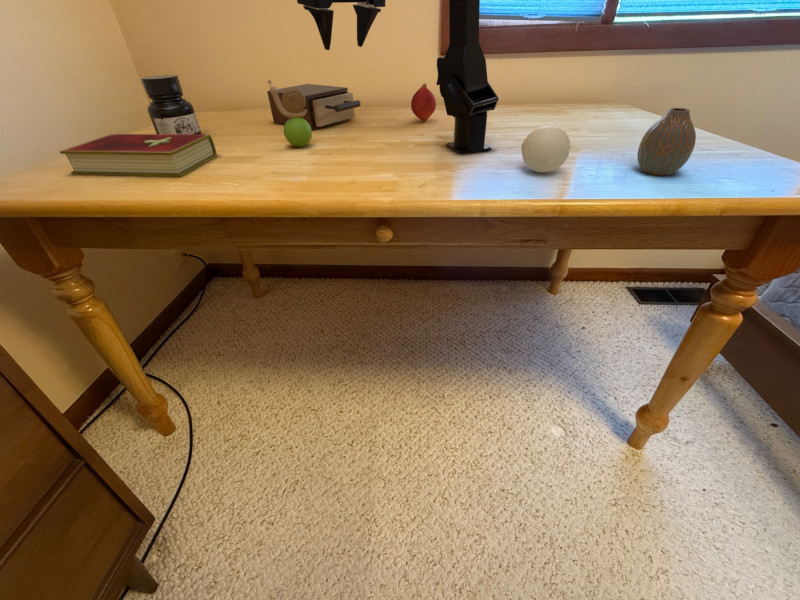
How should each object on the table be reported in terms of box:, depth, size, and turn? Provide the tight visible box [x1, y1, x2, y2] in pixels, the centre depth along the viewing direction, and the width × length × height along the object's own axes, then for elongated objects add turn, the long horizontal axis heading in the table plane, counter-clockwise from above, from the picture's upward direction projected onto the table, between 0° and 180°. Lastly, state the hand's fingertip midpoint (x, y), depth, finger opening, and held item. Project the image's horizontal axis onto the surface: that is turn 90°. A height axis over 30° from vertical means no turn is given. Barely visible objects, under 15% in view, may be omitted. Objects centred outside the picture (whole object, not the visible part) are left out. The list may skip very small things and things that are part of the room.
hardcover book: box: [59, 133, 218, 178], centre depth 69 cm, size 12×21×4 cm, turn 82°
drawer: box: [310, 92, 361, 127], centre depth 91 cm, size 18×11×5 cm, turn 51°
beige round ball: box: [521, 125, 571, 174], centre depth 59 cm, size 7×7×7 cm
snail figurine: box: [267, 79, 313, 148], centre depth 73 cm, size 5×6×12 cm
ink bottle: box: [140, 74, 202, 135], centre depth 82 cm, size 10×9×12 cm
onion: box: [410, 83, 437, 122], centre depth 89 cm, size 6×6×8 cm
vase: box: [637, 107, 697, 176], centre depth 56 cm, size 7×7×9 cm
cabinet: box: [266, 83, 351, 131], centre depth 93 cm, size 15×13×7 cm
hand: (344, 48), depth 81 cm, fingers open, 9 cm apart
